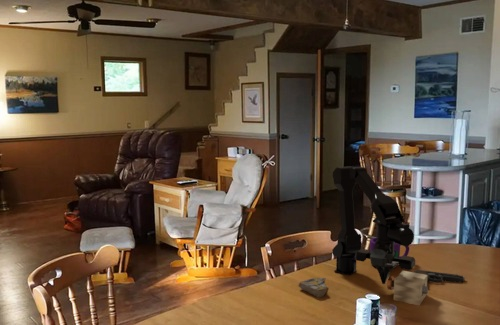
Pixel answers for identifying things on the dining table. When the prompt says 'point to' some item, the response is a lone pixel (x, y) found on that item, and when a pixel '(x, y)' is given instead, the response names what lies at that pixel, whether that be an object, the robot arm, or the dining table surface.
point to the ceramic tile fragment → (314, 286)
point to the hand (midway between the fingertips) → (383, 283)
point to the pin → (391, 285)
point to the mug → (396, 248)
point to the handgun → (440, 277)
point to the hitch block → (409, 287)
